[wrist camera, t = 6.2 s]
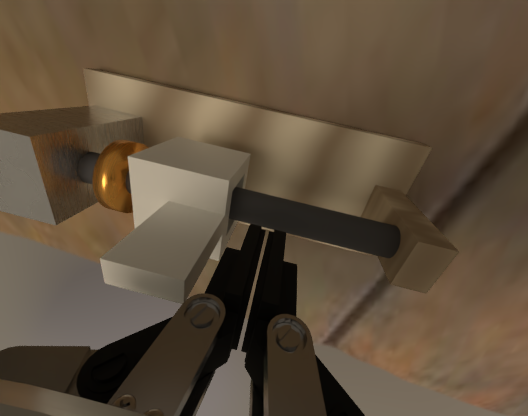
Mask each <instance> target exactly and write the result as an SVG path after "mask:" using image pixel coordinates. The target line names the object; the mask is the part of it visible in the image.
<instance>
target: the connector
mask: <svg viewBox="0 0 528 416" xmlns="http://www.w3.org/2000/svg"><path fill="white" fill-rule="evenodd" d="M147 148H149V147H147V146H146V145H144V135H143V119H142V116H137V115H133V114H129V113H125V112H120V111H116V110H112V109H108V108H103V107H99V106H95V105H94V106H82V107H70V108H58V109H46V110H35V111H23V112H11V113H0V211H3V212H7V213H10V214H14V215H18V216H22V217H26V218H30V219H34V220H37V221H41V222H45V223H49V224H53V225H58V224H59V223H61V222H63V221H65V220H67V219H68V218H70V217H72V216H74V215H76V214H77V213H79V212H81V211H83V210H85V209H86V208H88V207H90V206H92V205H94V204H95V203H97V202H99V203H100V204H101V205H102V206H104V207H105V208H108V209H112V210H115V211H119V212H123V213H132V212H133V205H132V195H131V194H130V193H129V192H128V191H127V189H126V183H125V182H126V176H127V173H128V171H129V165H128V156H129V155H132V154H134V153H137V152H140V151H142V150H145V149H147ZM88 152H95V153H100V155H99V157H98V159H97V161H96V164H95V167H94V171H93V178H92V182H93V185H92V184H88V183H85V182H83V181H82V180H81V179H80V178H79V176H78V172H77V166H78V162H79V160H80V159H81V157H82V156H83V155H84V154H86V153H88Z"/></svg>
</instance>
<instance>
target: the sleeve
mask: <svg viewBox="0 0 528 416" xmlns="http://www.w3.org/2000/svg"><path fill="white" fill-rule="evenodd" d="M250 155H251V154H249V153H245V152H241V151H237V150H233V149H228V148H224V147H220V146H216V145H212V144H207V143H203V142H199V141H195V140H190V139H186V138H182V137H176V138H173V139H170V140H168V141H165V142H163V143H160V144H158V145H155V146H152V147H150V148H147V149H145V150H142V151H140V152H137V153H134V154H132V155H129V156H128V165H129V175H130V185H131V195H132V205H133V215H134V226H135V229H134V230H133V231H132V232H131V233H130V234H128V235H127V236H126V237H125V238H124V239H122V240H121V241H120V242H119V243H118V244H116V245H115V246H114V247H113V248H112V249H110V250H109V251H108V252H107V253H106V254H105V255H103V256H102V257H101V258H100V262H101V267H102V272H103V277H104V282H105V283H106V284H110V285H114V286H117V287H121V288H124V289H128V290H132V291H136V292H140V293H143V294H147V295H151V296H155V297H158V298H162V299H166V300H169V301H173V302H177V303H181V304H183V303H184V302H185V301H186V299H187V297H188V296H189V294H190V292H191V290H192V288H193V287H194V285H195V283H196V281H197V279H198V277H199V276H200V274H201V272H202V270H203V268H204V267H205V265H206V263H207V261H208V259H209V258H210V259H214V260H218V261H219V260H220V258H221V256H222V253H223V251H224V249H225V247H226V245H227V243H228V241H229V239H230V237H231V235H232V233H233V231H234V229H235V227H236V225H237V223H238V221H236V220H232V219H229V212H230V205H231V198H232V191H233V190H234V188H235V187H239V188H243V189H245V185H246V179H247V173H248V167H249V161H250Z"/></svg>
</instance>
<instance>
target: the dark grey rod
mask: <svg viewBox="0 0 528 416" xmlns="http://www.w3.org/2000/svg"><path fill="white" fill-rule="evenodd" d="M99 155H100V153H95V152H88V153H86V154H84V155H83V156H82V157H81V159H80V160H79V162H78V166H77V172H78V176H79V178H80V179H81V180H82V181H83V182H85V183H88V184H92V185H93V182H92V178H93V171H94V167H95V164H96V161H97V159H98V157H99ZM125 183H126V189H127V191H128V192H129V193H130V194H131V185H130V175H129V171H128V173H127V176H126V182H125ZM229 219H232V220H236V221H240V222H244V223H248V224H255V225H259V226H262V227H264V228H268V229H272V230H279V231H283V232H286V233H288V234H292V235H296V236H300V237H304V238H308V239H312V240H316V241H320V242H324V243H328V244H332V245H336V246H340V247H344V248H348V249H352V250H356V251H360V252H364V253H368V254H372V255H376V256H380V257H384V258H391V257H393V256H394V255H395V254H396V252H397V250H398V248H399V245H400V240H401V234H400V230H399V228H398V227H397V226H395V225H391V224H387V223H382V222H378V221H374V220H370V219H366V218H362V217H358V216H354V215H350V214H346V213H341V212H337V211H333V210H329V209H325V208H321V207H317V206H313V205H309V204H305V203H300V202H296V201H292V200H288V199H284V198H280V197H276V196H272V195H268V194H264V193H259V192H255V191H251V190H247V189H243V188H239V187H235V188H234V190H233V191H232V198H231V205H230V212H229Z"/></svg>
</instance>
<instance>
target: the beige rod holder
mask: <svg viewBox="0 0 528 416" xmlns="http://www.w3.org/2000/svg"><path fill="white" fill-rule="evenodd" d="M83 72H84V79H85V85H86V91H87V97H88V103H89V106H94V105H95V106H99V107H103V108H108V109H112V110H116V111H120V112H125V113H129V114H133V115H137V116H142V119H143V135H144V145H146V146H147V147H149V148H150V147H152V146H155V145H158V144H160V143H163V142H165V141H168V140H170V139H173V138H176V137H182V138H186V139H190V140H195V141H199V142H203V143H207V144H212V145H216V146H220V147H224V148H228V149H233V150H237V151H241V152H245V153H249V154H251V155H250V161H249V167H248V173H247V179H246V185H245V189H247V190H251V191H255V192H259V193H264V194H268V195H272V196H276V197H280V198H284V199H288V200H292V201H296V202H300V203H305V204H309V205H313V206H317V207H321V208H325V209H329V210H333V211H337V212H341V213H346V214H350V215H354V216H358V217H362V218H366V219H370V220H374V221H378V222H382V223H387V224H391V225H395V226H397V227H398V228H399V230H400V234H401V240H400V245H399V248H398V250H397V252H396V254H395V255H394V256H393V257H391V258H384V257H380V256H378V258H379V260H380V262H381V265H382V267H383V269H384V271H385V274H386V276H387V278H388V280H389V283H390V284H391V285H395V286H399V287H403V288H407V289H411V290H414V291H418V292H422V293H427V292H428V291H429V290H430V288H431V287H432V286H433V285H434V283H435V282H436V281H437V279H438V278H439V277H440V276H441V274H442V273H443V272H444V271H445V269H446V268H447V267H448V265H449V264H450V263H451V262H452V260H453V259H454V258H455V257H456V255H457V254H458V253H459V251H458V250H457V249H456V248H455V247H454V246H453V245H452V244H451V243H450V242H449V240H448V239H447V238H446V237H445V236H444V235H443V234H442V233H441V232H440V231H439V230H438V229H437V228H436V227H435V226H434V225H433V224H432V223H431V222H430V221H429V220H428V218H427V217H426V216H425V215H424V214H423V213H422V212H421V211H420V210H419V209H418V208H417V207H416V206H415V205H414V204H413V203H412V202H411V201H410V200H409V199H408V198H407V196H406V195H407V193H408V191H409V189H410V187H411V186H412V184H413V182H414V180H415V178H416V177H417V175H418V173H419V171H420V169H421V168H422V166H423V164H424V162H425V160H426V159H427V157H428V155H429V153H430V151H431V150H432V148H431V147H429V146H427V145H425V144H423V143H419V142H414V141H410V140H406V139H401V138H397V137H392V136H388V135H384V134H379V133H375V132H371V131H366V130H362V129H357V128H353V127H349V126H344V125H340V124H336V123H331V122H327V121H322V120H318V119H314V118H309V117H305V116H300V115H296V114H292V113H287V112H283V111H279V110H274V109H270V108H265V107H261V106H257V105H252V104H248V103H244V102H239V101H235V100H230V99H226V98H222V97H217V96H213V95H209V94H204V93H200V92H195V91H191V90H187V89H182V88H178V87H173V86H169V85H165V84H160V83H156V82H152V81H147V80H143V79H138V78H134V77H130V76H125V75H121V74H117V73H112V72H108V71H103V70H99V69H89V68H83ZM238 223H242V224H246V225H250V224H248V223H244V222H240V221H238ZM262 229H266V230H270V231H274V230H272V229H268V228H264V227H262ZM286 235H290V236H294V237H298V238H302V239H306V240H310V241H314V242H318V243H322V244H326V245H330V246H334V247H338V248H342V249H346V250H350V251H354V252H358V253H362V254H366V255H370V256H373V255H372V254H368V253H364V252H360V251H356V250H352V249H348V248H344V247H340V246H336V245H332V244H328V243H324V242H320V241H316V240H312V239H308V238H304V237H300V236H296V235H292V234H288V233H286Z"/></svg>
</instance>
